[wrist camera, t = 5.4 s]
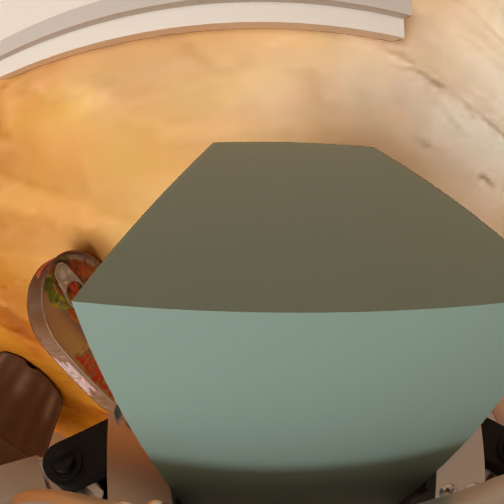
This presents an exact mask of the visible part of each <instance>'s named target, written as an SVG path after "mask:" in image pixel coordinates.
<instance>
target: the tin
mask: <svg viewBox="0 0 504 504" xmlns="http://www.w3.org/2000/svg"><path fill="white" fill-rule="evenodd" d="M100 264H101V263H100V262H99V261H98V260H97V259H96V258H94V257H93V256H91V255H90V254H88V253H86V252H83V251H78V250H70V251H66V252H63V253H61V254H60V255H58V256H57V257H56V258H53V259H51V260H49V261H48V262H46V263H44V264H43V265H42V266H41V267H40V268H39V269H38V270H37V272H36V273H35V275H34V276H33V278H32V280H31V283H30V285H29V289H28V295H27V311H28V317H29V321H30V324H31V327H32V330H33V332H34V334H35V336H36V338H37V339H38V341H39V342H40V344H41V345H42V346H43V347H44V349H45V350H46V351H47V352H48V353H49V354H50V356H51V357H52V358H53V359H54V360H55V361H56V362H57V363H58V365H59V366H60V367H61V368H62V369H63V370H64V371H65V372H66V373H67V374H68V375H69V376H70V377H71V378H72V379H73V380H74V381H75V382H76V383H77V384H78V385H79V386H80V388H81V389H83V390H84V392H85V393H87V394H88V395H89V396H90V397H91V398H92V399H93V400H94V401H95V402H96V403H97V404H98V405H99V406H100V407H102V408H103V409H105V410H106V411H109V408H110V406H111V404H112V403H113V401H114V400H115V399H114V397H113V395H112V393H111V391H110V389H109V387H108V385H107V383H106V381H105V379H104V377H103V375H102V373H101V371H100V369H99V367H98V364H97V362H96V360H95V358H94V356H93V353H92V351H91V349H90V347H89V344H88V342H87V340H86V337H85V335H84V332H83V330H82V328H81V325H80V323H79V320H78V317H77V315H76V312H75V310H74V307H73V304H72V300H73V299H74V297H75V296H76V295H77V293H78V292H79V291H80V289H81V288H82V287H83V286H84V284H85V283H86V282H87V280H88V279H89V278H90V277H91V275H92V274H93V273H94V272H95V270H96V269H97V268H98V267H99V266H100Z"/></svg>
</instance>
